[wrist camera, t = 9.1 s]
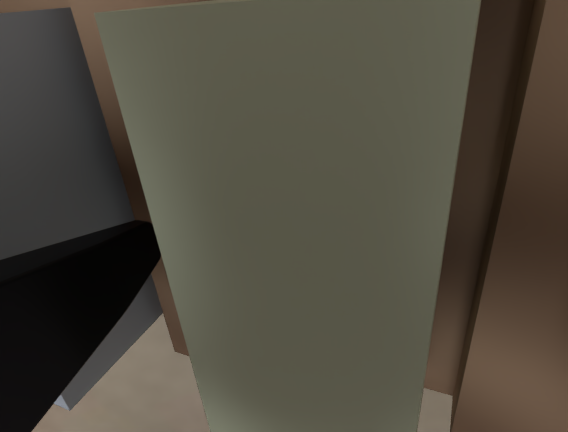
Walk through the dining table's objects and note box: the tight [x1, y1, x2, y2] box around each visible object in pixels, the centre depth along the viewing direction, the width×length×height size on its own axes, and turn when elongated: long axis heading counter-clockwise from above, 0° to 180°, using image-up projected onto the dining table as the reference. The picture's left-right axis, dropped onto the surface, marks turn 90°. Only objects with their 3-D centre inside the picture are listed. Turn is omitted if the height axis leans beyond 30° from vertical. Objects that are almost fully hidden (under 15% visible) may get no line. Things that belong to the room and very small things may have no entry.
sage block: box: [94, 0, 481, 432], centre depth 8 cm, size 10×4×5 cm, turn 5°
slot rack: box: [0, 0, 568, 432], centre depth 12 cm, size 12×20×2 cm, turn 95°
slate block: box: [0, 7, 163, 411], centre depth 12 cm, size 10×4×5 cm, turn 5°
